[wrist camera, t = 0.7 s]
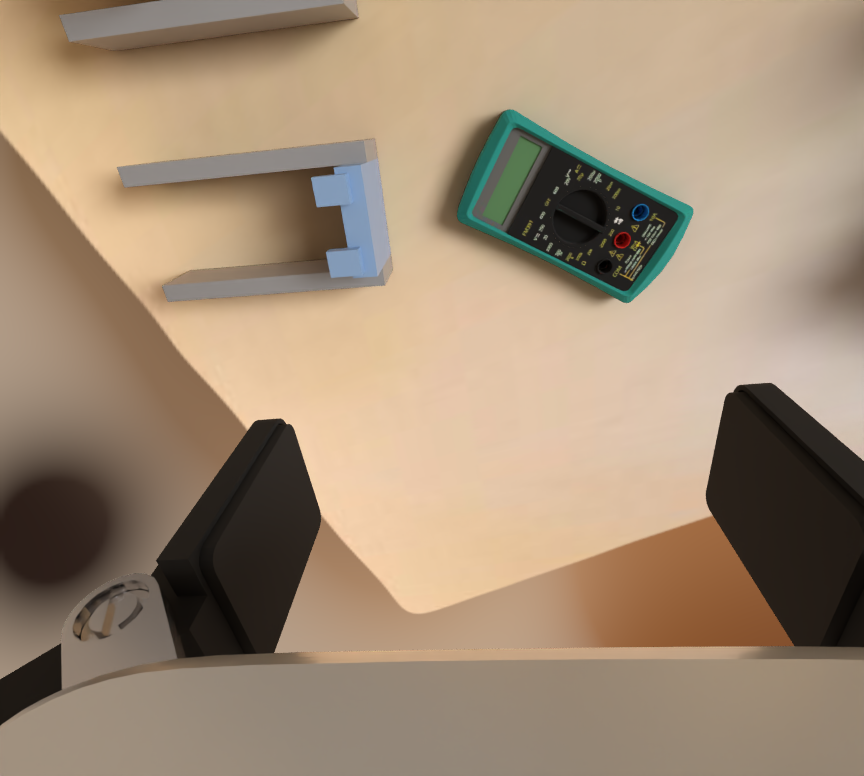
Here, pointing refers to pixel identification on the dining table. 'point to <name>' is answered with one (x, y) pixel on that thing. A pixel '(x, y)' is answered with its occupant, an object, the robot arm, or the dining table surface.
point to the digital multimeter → (571, 209)
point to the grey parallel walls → (349, 187)
